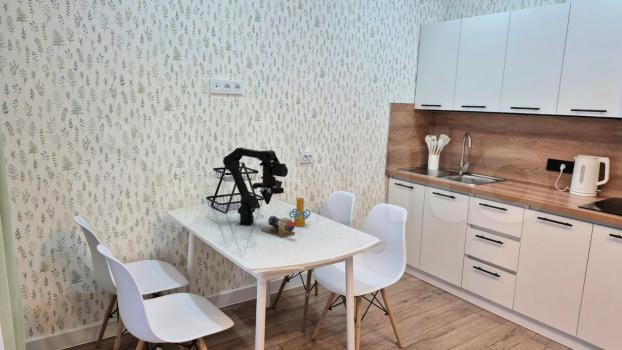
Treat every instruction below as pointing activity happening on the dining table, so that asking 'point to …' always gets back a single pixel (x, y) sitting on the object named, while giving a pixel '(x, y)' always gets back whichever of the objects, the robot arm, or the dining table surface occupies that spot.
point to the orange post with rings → (299, 213)
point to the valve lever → (287, 223)
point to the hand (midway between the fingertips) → (267, 204)
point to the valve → (279, 227)
